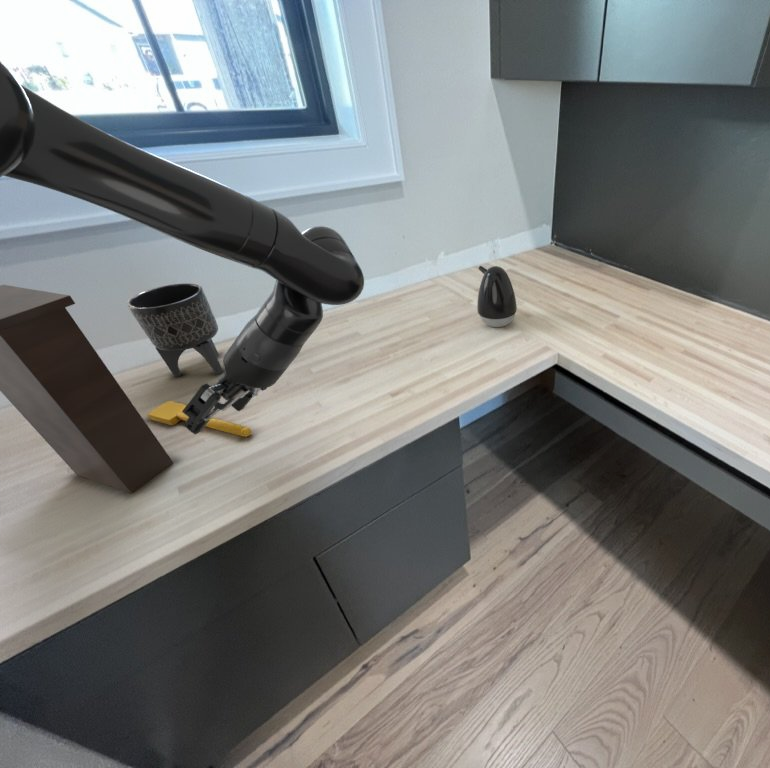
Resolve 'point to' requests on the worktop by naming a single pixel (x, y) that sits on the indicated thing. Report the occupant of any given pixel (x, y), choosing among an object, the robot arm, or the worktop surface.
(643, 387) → the worktop surface
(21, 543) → the worktop surface
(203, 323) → the planter
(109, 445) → the stand
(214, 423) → the hammer
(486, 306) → the pump dispenser
